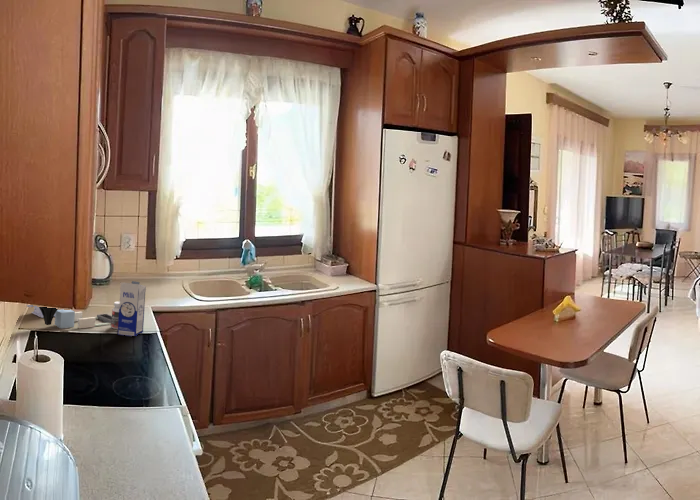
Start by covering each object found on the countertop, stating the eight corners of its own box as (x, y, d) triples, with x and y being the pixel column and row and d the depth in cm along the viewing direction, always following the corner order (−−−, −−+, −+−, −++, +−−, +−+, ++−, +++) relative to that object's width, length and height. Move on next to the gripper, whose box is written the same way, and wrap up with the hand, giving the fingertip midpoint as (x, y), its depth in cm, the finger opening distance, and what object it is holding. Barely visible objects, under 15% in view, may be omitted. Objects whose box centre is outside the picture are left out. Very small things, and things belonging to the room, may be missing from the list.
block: (54, 325, 219) (55, 310, 219) (67, 324, 223) (68, 308, 223) (60, 328, 216) (61, 312, 216) (74, 327, 220) (74, 311, 220)
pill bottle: (107, 327, 224) (109, 302, 223) (117, 325, 229) (119, 300, 228) (120, 330, 222) (121, 304, 221) (130, 327, 227) (131, 302, 226)
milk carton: (117, 334, 215) (120, 281, 213) (125, 330, 222) (128, 279, 220) (135, 337, 215) (138, 283, 213) (143, 332, 222) (146, 281, 220)
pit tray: (96, 318, 235) (97, 314, 235) (106, 317, 238) (106, 313, 238) (110, 324, 229) (110, 320, 228) (119, 323, 232) (120, 319, 232)
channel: (65, 321, 226) (65, 313, 225) (96, 318, 235) (96, 310, 235) (79, 328, 219) (79, 319, 218) (110, 324, 228) (111, 315, 228)
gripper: (33, 291, 206) (31, 329, 207) (74, 289, 217) (72, 324, 218) (25, 288, 210) (23, 324, 211) (65, 285, 221) (63, 320, 223)
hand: (47, 324), depth 215 cm, fingers closed
